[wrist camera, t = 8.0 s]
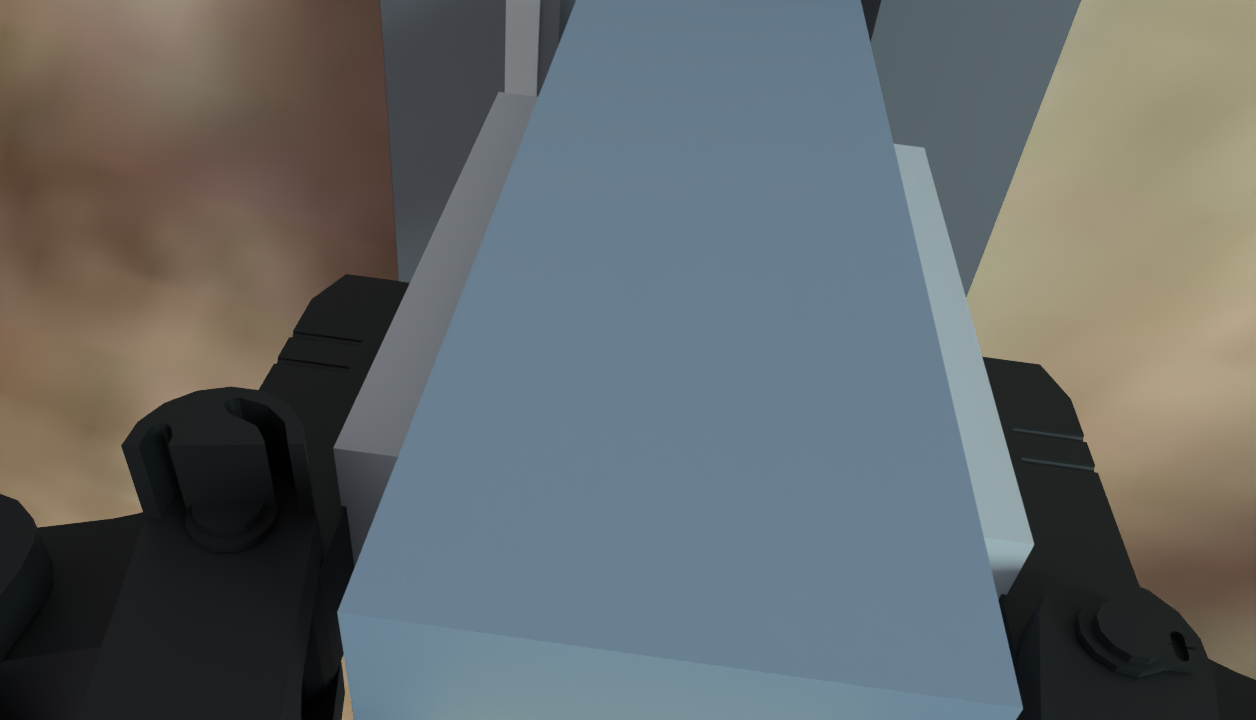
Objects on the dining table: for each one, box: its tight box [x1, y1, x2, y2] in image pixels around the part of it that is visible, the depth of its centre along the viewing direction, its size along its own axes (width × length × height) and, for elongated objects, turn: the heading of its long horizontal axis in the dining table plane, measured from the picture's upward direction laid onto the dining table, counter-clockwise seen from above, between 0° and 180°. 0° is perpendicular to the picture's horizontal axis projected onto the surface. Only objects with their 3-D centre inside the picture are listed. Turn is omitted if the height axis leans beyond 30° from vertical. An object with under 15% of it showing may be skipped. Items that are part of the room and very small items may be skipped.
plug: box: [337, 0, 1023, 720], centre depth 11 cm, size 4×4×13 cm
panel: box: [380, 0, 1081, 297], centre depth 25 cm, size 30×12×3 cm, turn 175°
